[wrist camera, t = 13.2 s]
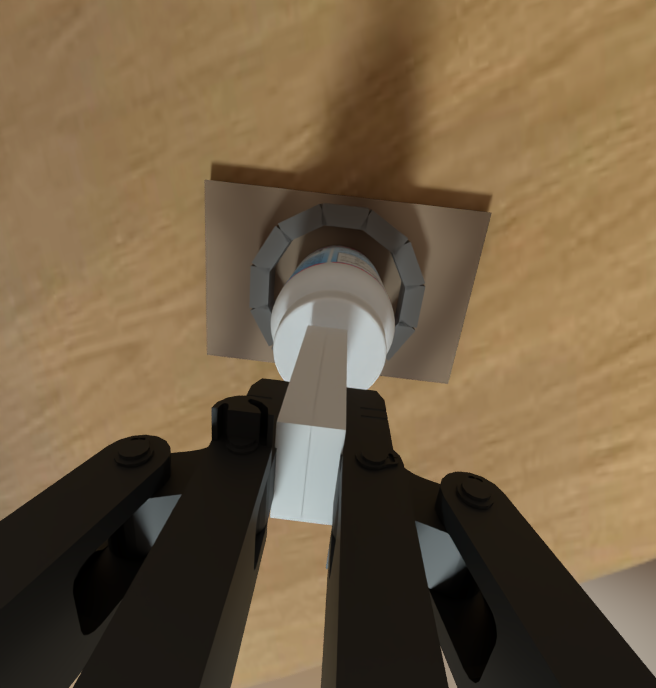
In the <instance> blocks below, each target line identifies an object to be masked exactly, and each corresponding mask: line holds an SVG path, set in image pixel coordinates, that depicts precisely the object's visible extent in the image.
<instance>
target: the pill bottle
mask: <svg viewBox="0 0 656 688" xmlns="http://www.w3.org/2000/svg"><path fill="white" fill-rule="evenodd" d="M308 325H311V326H320V327H328V328H336V329H345V330H347V387H348V388H356V389H365V390H367V389H368V388H369V387H370V386H371V385H372V384H373V383H374V382H375V381H376V380H377V378H378V377H379V375H380V373H381V372H382V369H383V367H384V364H385V360H386V355H387V353H388V351H389V349H390V347H391V344H392V341H393V337H394V332H395V318H394V312H393V308H392V305H391V302H390V299H389V297H388V295H387V292H386V290H385V288H384V286H383V283H382V281H381V279H380V277H379V274H378V272H377V270H376V268H375V267H374V265H373V264H372V263H371V261H370V260H369V259H368V258H367V257H366V256H365V255H363V254H362V253H360V252H359V251H357V250H355V249H352V248H349V247H345V246H327V247H323V248H320V249H318V250H316V251H314V252H312V253H311V254H309V255H308V256H307V257H306V258H305V259H304V260H303V261H302V262H301V263H300V264H299V266H298V267H297V268H296V270H295V271H294V273H293V274H292V275H291V277H290V278H289V280H288V281H287V283H286V284H285V285H284V287H283V288H282V290H281V292H280V293H279V295H278V297H277V299H276V301H275V304H274V306H273V310H272V315H271V334H272V338H273V342H274V343H273V354H274V361H275V364H276V367H277V369H278V371H279V373H280V375H281V377H282V378H283V380H284V381H288V382H290V379H291V376H292V373H293V370H294V367H295V363H296V360H297V357H298V354H299V351H300V348H301V345H302V342H303V339H304V336H305V333H306V329H307V326H308Z"/></svg>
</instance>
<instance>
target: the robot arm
mask: <svg viewBox="0 0 656 688" xmlns="http://www.w3.org/2000/svg"><path fill="white" fill-rule="evenodd" d="M387 419H388V418H387V412H386V406H385V401H384V399H383V398H382V397H381V396H380V395H379V393H378V392H377V391H373V390H365V389H356V388H348V387H347V330H345V329H336V328H328V327H320V326H311V325H308V326H307V329H306V333H305V336H304V339H303V342H302V345H301V348H300V351H299V354H298V357H297V360H296V363H295V367H294V370H293V373H292V376H291V379H290V382H288V381H280V380H272V379H263V378H262V379H261V380H259V381H258V382H256V383H255V384H253V385H252V386H251V388H250V390H249V391H248V393H247V396H234V397H228V398H225V399H223V400H221V401H218V402H217V403H216V404H215V405H214V406H213V407H212V441H211V443H210V445H209V446H208V447H207V448H204V449H201V450H195V451H187V452H177V453H171V451H170V446H169V445H168V443H167V441H165V440H163V439H161V438H160V437H157V436H151V435H138V436H131V437H127V438H124V439H120V440H118V441H116V442H114V443H112V444H111V445H109V446H107V447H106V448H104V449H103V450H101V451H100V452H98V453H97V454H96V455H94V456H93V457H91V458H90V459H88V460H87V461H86V462H84V463H83V464H81V465H80V466H78V467H77V468H76V469H74V470H73V471H71V472H70V473H68V474H67V475H66V476H64V477H63V478H61V479H60V480H58V481H57V482H56V483H54V484H53V485H51V486H50V487H48V488H47V489H46V490H44V491H43V492H41V493H40V494H38V495H37V496H36V497H34V498H33V499H31V500H30V501H28V502H27V503H26V504H24V505H23V506H21V507H20V508H18V509H17V510H15V511H14V512H13V513H11V514H10V515H8V516H7V517H5V518H4V519H3V520H1V521H0V688H69V687H70V685H71V684H72V683H73V682H74V680H75V679H76V678H77V677H78V675H79V674H80V673H81V674H80V676H79V678H78V679H77V681H76V683H75V685H74V687H73V688H230V687H231V683H232V679H233V675H234V671H235V666H236V662H237V658H238V654H239V650H240V646H241V641H242V637H243V633H244V629H245V625H246V621H247V616H248V612H249V608H250V604H251V600H252V596H253V591H254V587H255V583H256V579H257V575H258V571H259V566H260V562H261V558H262V554H263V550H264V546H265V541H266V537H267V522H268V517H269V513H270V509H271V514H270V518H278V519H286V520H294V521H302V522H310V523H318V524H326V525H332V531H331V537H330V544H329V551H328V557H327V564H326V569H328V577H327V594H326V610H325V627H324V644H323V661H322V678H321V688H449V687H448V682H447V677H446V672H445V667H444V662H443V658H442V652H441V649H442V651H443V653H444V656H445V658H446V661H447V663H448V666H449V668H450V671H451V673H452V675H453V678H454V680H455V683H456V685H457V688H656V678H655V676H654V675H653V674H652V673H651V672H650V670H649V669H648V668H647V667H646V665H645V664H644V663H643V662H642V660H641V659H640V658H639V657H638V656H637V654H636V653H635V652H634V651H633V650H632V648H631V647H630V646H629V645H628V643H627V642H626V641H625V640H624V639H623V637H622V636H621V635H620V634H619V633H618V631H617V630H616V629H615V628H614V627H613V625H612V624H611V623H610V622H609V620H608V619H607V618H606V617H605V616H604V614H603V613H602V612H601V611H600V610H599V608H598V607H597V606H596V605H595V603H594V602H593V601H592V600H591V598H590V597H589V596H588V595H587V594H586V592H585V591H584V590H583V589H582V587H581V586H580V585H579V584H578V583H577V581H576V580H575V579H574V578H573V577H572V575H571V574H570V573H569V572H568V570H567V569H566V568H565V567H564V566H563V564H562V563H561V562H560V561H559V559H558V558H557V557H556V556H555V555H554V553H553V552H552V551H551V550H550V549H549V547H548V546H547V545H546V544H545V542H544V541H543V540H542V539H541V538H540V536H539V535H538V534H537V533H536V532H535V530H534V529H533V528H532V527H531V525H530V524H529V523H528V522H527V521H526V519H525V518H524V517H523V516H522V514H521V513H520V512H519V511H518V510H517V508H516V507H515V506H514V505H513V504H512V502H511V501H510V500H509V499H508V497H507V496H506V495H505V494H504V493H503V492H502V491H501V490H500V489H499V488H498V487H497V486H496V485H495V484H493V483H492V482H490V481H488V480H487V479H485V478H483V477H481V476H478V475H475V474H472V473H468V472H453V473H449V474H447V475H446V476H445V477H444V478H442V481H441V484H438V483H436V482H433V481H430V480H427V479H424V478H422V477H419V476H417V475H415V474H413V473H411V472H410V471H408V470H407V469H405V468H404V464H403V462H402V459H401V457H400V455H398V454H397V453H396V452H395V451H394V450H393V446H392V440H391V435H390V429H389V423H388V420H387ZM440 646H441V647H440ZM82 670H83V671H82Z"/></svg>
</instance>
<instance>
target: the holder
mask: <svg viewBox="0 0 656 688" xmlns="http://www.w3.org/2000/svg"><path fill="white" fill-rule="evenodd" d="M490 217H491V213H490V212H481V211H472V210H464V209H455V208H446V207H438V206H429V205H420V204H412V203H403V202H394V201H386V200H377V199H368V198H360V197H351V196H343V195H334V194H325V193H317V192H308V191H299V190H291V189H282V188H273V187H265V186H256V185H247V184H239V183H230V182H221V181H213V180H205V242H206V316H207V355H214V356H222V357H231V358H239V359H247V360H255V361H264V362H272V363H275V361H274V354H273V343H274V342H273V338H272V334H271V315H272V310H273V306H274V304H275V301H276V299H277V297H278V295H279V293H280V292H281V290H282V288H283V287H284V285H285V284H286V283H287V281H288V280H289V278H290V277H291V275H292V274H293V273H294V271H295V270H296V268H297V267H298V266H299V264H300V263H301V262H302V261H303V260H304V259H305V258H306V257H307V256H308V255H309V254H311V253H312V252H314V251H316V250H318V249H320V248H323V247H327V246H345V247H349V248H352V249H355V250H357V251H359V252H360V253H362V254H363V255H365V256H366V257H367V258H368V259H369V260H370V261H371V263H372V264H373V265H374V267H375V268H376V270H377V272H378V274H379V277H380V279H381V281H382V283H383V286H384V288H385V290H386V292H387V295H388V297H389V299H390V302H391V305H392V308H393V312H394V318H395V332H394V337H393V341H392V344H391V347H390V349H389V351H388V353H387V355H386V360H385V364H384V367H383V369H382V372H381V373H380V375H379V376H387V377H395V378H404V379H412V380H420V381H428V382H437V383H445V384H448V382H449V378H450V374H451V370H452V366H453V362H454V358H455V354H456V351H457V347H458V343H459V339H460V335H461V331H462V327H463V323H464V319H465V315H466V311H467V307H468V303H469V299H470V296H471V292H472V288H473V284H474V280H475V276H476V272H477V268H478V264H479V260H480V256H481V252H482V248H483V244H484V241H485V237H486V233H487V229H488V225H489V221H490Z"/></svg>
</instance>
